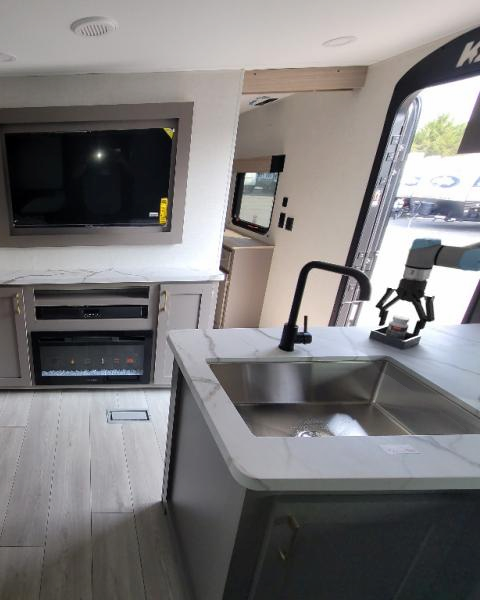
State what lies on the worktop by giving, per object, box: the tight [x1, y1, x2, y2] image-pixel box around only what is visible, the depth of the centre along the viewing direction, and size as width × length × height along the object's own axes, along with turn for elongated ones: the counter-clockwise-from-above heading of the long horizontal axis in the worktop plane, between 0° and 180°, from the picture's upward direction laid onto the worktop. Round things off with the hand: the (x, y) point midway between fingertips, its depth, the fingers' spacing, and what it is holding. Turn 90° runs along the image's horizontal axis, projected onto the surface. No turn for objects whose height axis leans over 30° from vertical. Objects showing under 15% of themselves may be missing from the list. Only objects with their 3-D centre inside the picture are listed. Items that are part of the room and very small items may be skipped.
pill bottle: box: [386, 314, 410, 340], centre depth 132 cm, size 6×6×10 cm
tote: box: [368, 324, 422, 351], centre depth 134 cm, size 11×11×4 cm
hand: (397, 330), depth 132 cm, fingers open, 10 cm apart
